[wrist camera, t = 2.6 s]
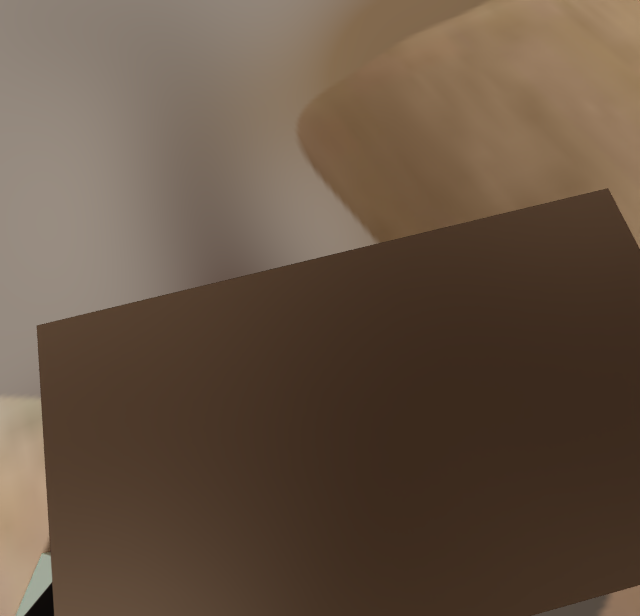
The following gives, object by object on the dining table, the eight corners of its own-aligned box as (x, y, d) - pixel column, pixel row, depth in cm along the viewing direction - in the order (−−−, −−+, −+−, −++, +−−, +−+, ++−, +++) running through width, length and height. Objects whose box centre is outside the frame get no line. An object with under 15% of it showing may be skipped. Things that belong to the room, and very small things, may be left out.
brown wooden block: (459, 517, 17) (791, 541, 4) (270, 568, 16) (61, 748, 4) (424, 407, 18) (607, 187, 6) (248, 453, 17) (36, 326, 5)
